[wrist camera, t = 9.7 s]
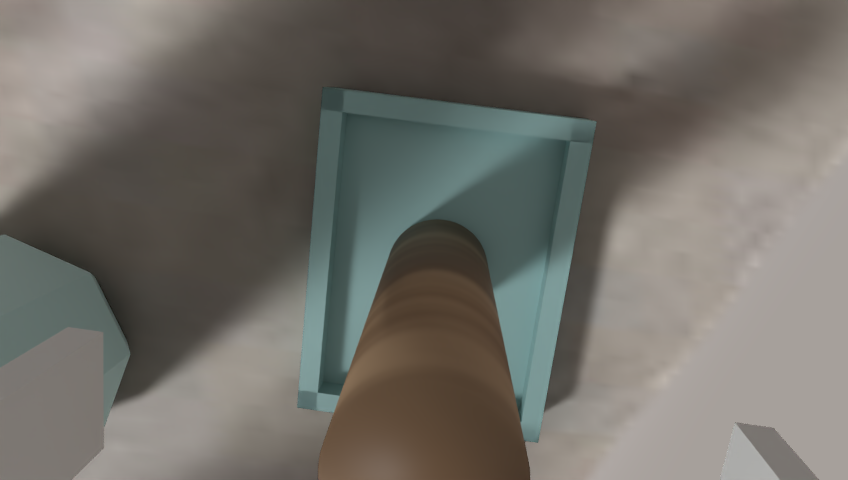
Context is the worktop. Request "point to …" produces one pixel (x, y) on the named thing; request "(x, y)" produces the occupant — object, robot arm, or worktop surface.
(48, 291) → the water bottle
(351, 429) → the dowel
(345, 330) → the tray
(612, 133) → the worktop surface
